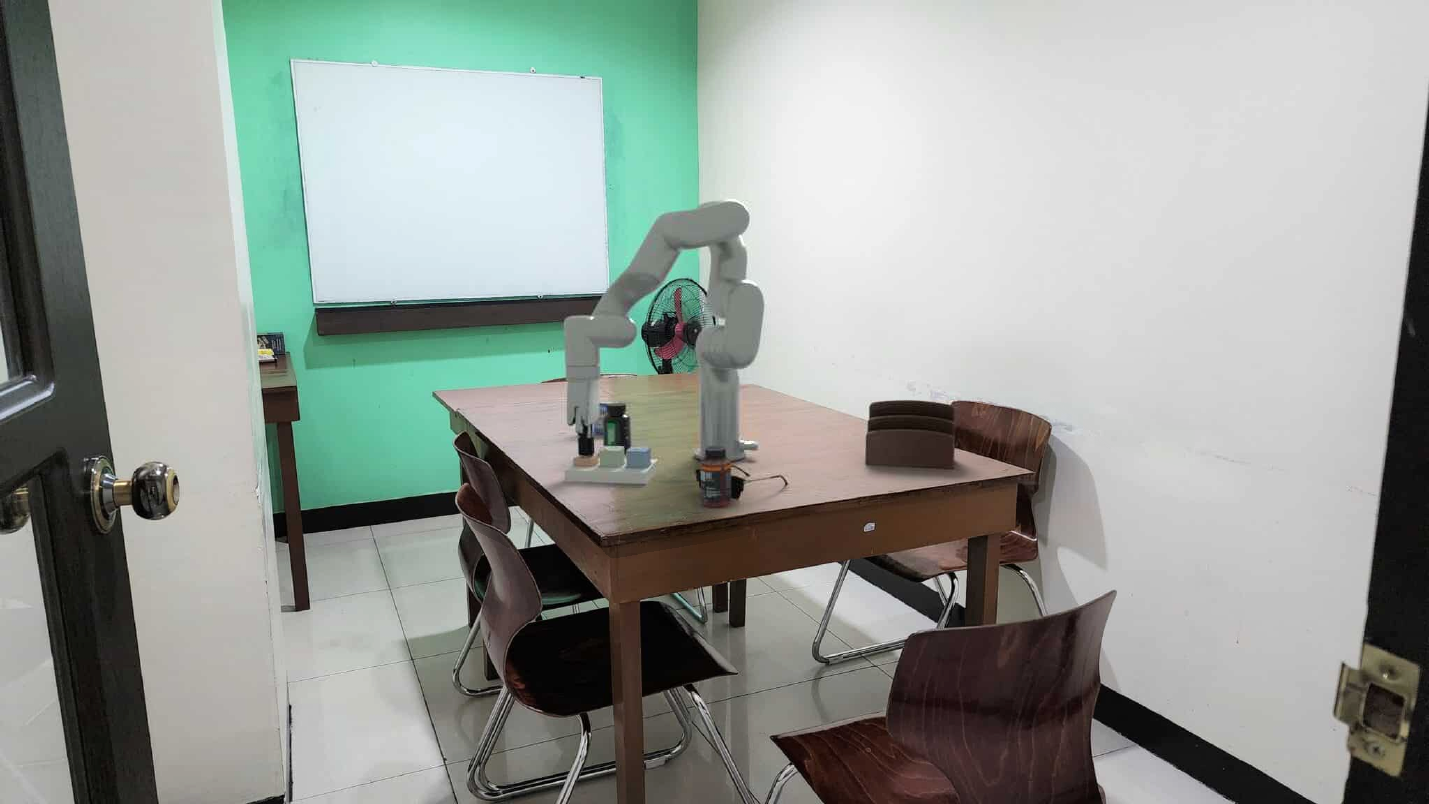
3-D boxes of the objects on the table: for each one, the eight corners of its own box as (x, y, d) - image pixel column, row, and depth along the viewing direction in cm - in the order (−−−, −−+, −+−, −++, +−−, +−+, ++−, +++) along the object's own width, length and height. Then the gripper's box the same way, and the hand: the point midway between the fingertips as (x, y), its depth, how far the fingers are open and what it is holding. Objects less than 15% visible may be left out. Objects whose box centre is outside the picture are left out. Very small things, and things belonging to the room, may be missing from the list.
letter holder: (868, 455, 209) (869, 398, 206) (953, 459, 204) (955, 401, 201) (864, 465, 199) (866, 405, 197) (953, 470, 194) (956, 408, 192)
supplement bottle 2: (730, 499, 172) (730, 444, 170) (732, 508, 166) (732, 450, 164) (700, 500, 172) (700, 444, 170) (701, 508, 166) (700, 451, 164)
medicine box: (589, 434, 236) (588, 402, 235) (596, 430, 240) (595, 400, 239) (616, 435, 234) (615, 404, 232) (622, 432, 238) (621, 401, 237)
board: (658, 470, 196) (658, 459, 195) (646, 484, 184) (646, 472, 184) (581, 467, 198) (581, 457, 198) (564, 481, 187) (564, 470, 186)
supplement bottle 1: (613, 456, 210) (612, 407, 208) (598, 451, 215) (596, 404, 213) (636, 452, 214) (635, 404, 212) (621, 447, 219) (620, 400, 217)
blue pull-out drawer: (650, 464, 192) (650, 446, 191) (646, 469, 187) (646, 450, 187) (631, 464, 192) (631, 445, 192) (626, 468, 188) (626, 450, 187)
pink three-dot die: (598, 471, 194) (598, 453, 193) (593, 476, 190) (592, 458, 189) (579, 471, 194) (579, 453, 194) (573, 476, 190) (573, 457, 190)
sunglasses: (693, 491, 180) (694, 467, 179) (744, 480, 192) (744, 458, 191) (743, 503, 171) (744, 478, 170) (793, 491, 182) (794, 468, 182)
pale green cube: (624, 463, 193) (624, 445, 192) (619, 468, 188) (619, 449, 188) (605, 463, 193) (604, 445, 193) (599, 468, 189) (599, 449, 188)
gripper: (576, 368, 196) (580, 446, 199) (555, 377, 181) (559, 462, 185) (609, 368, 195) (612, 447, 198) (589, 377, 180) (593, 463, 184)
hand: (586, 454), depth 191 cm, fingers closed
